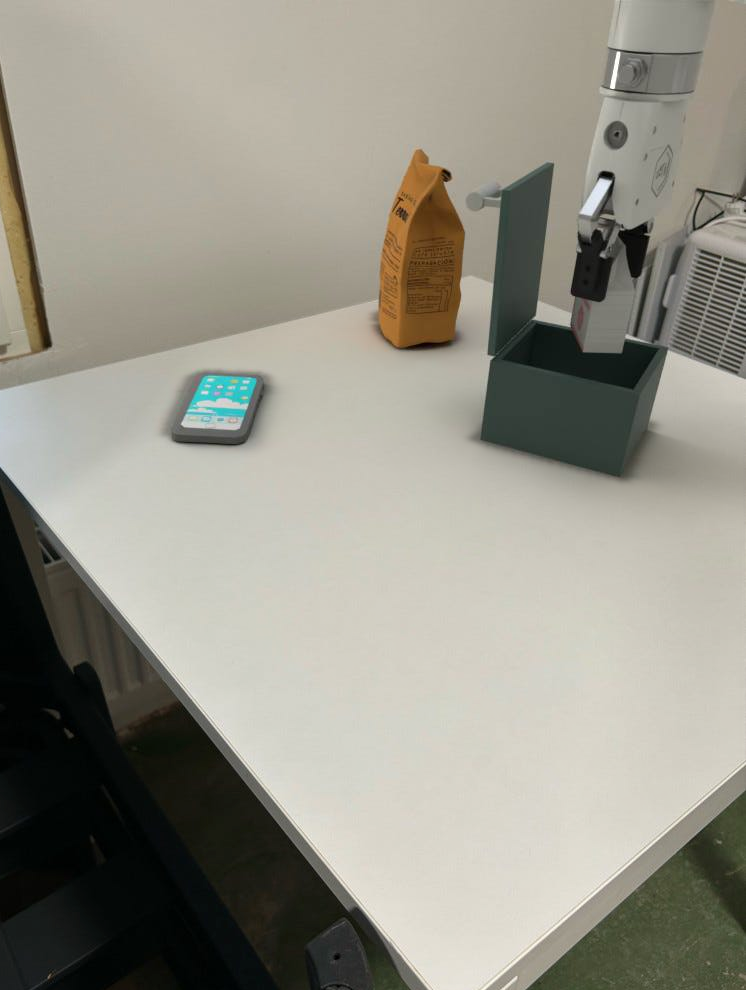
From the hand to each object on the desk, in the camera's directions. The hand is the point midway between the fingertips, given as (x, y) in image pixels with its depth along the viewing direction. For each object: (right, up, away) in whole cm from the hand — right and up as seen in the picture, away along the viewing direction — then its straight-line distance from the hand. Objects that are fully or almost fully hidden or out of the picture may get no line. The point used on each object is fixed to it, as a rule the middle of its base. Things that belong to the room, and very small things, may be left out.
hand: (606, 285), depth 78 cm
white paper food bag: (0, -4, +3) cm, 6 cm away
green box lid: (-7, +3, +3) cm, 8 cm away
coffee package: (-15, +4, +34) cm, 37 cm away
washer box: (-1, -13, +10) cm, 17 cm away
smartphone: (-39, -10, +15) cm, 43 cm away
